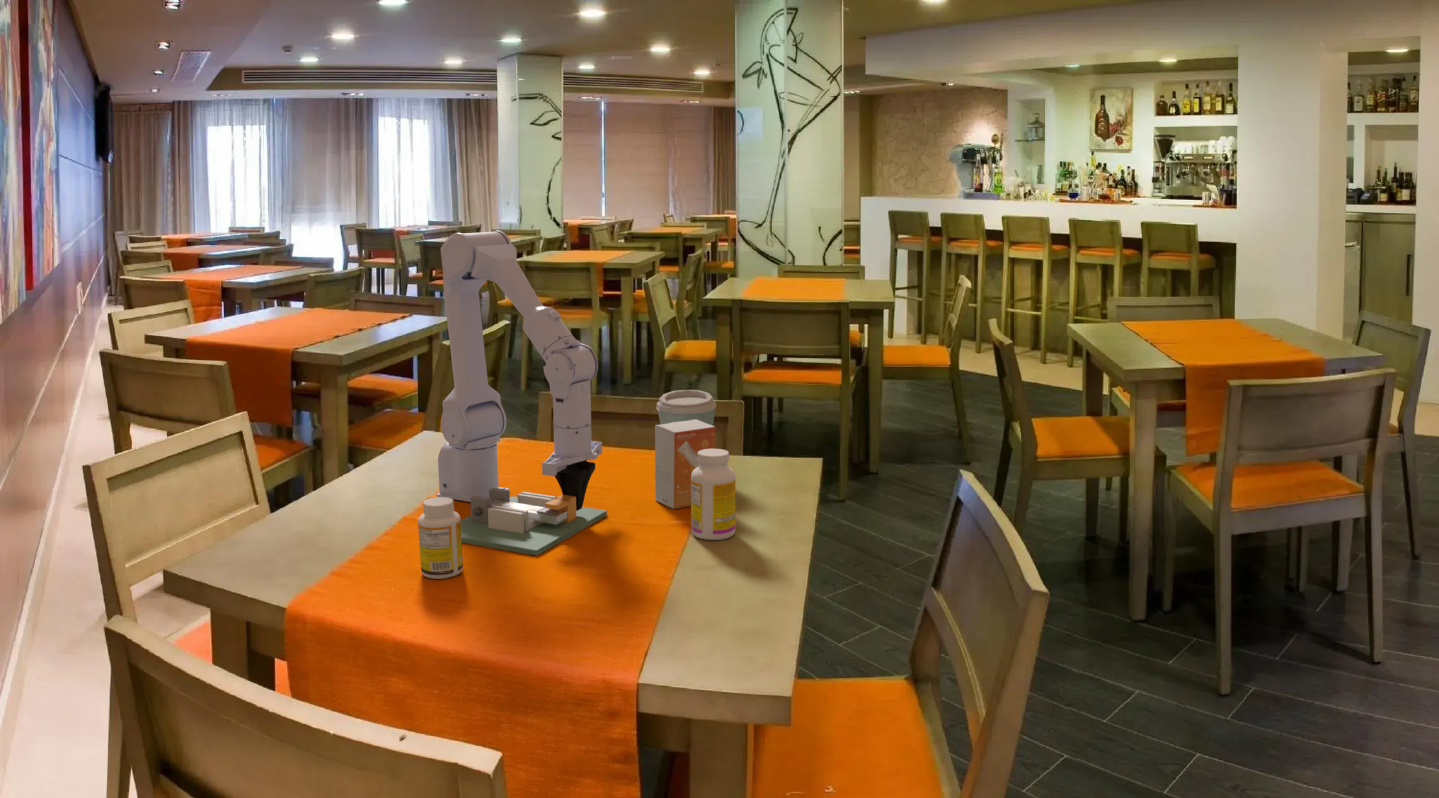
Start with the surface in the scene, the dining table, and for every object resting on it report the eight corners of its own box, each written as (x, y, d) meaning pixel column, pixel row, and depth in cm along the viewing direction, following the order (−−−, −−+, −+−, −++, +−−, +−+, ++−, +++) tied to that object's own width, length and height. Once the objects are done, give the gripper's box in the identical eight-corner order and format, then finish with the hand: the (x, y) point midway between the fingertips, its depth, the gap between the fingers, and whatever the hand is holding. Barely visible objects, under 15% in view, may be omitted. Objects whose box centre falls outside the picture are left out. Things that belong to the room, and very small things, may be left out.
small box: (674, 510, 175) (673, 432, 172) (654, 500, 180) (653, 424, 177) (715, 502, 179) (716, 425, 176) (695, 492, 184) (695, 418, 181)
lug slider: (576, 518, 168) (575, 496, 167) (559, 527, 163) (558, 505, 162) (563, 516, 169) (562, 494, 168) (545, 525, 164) (544, 503, 163)
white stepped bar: (484, 511, 167) (484, 502, 167) (496, 506, 170) (496, 497, 169) (556, 524, 162) (556, 514, 162) (567, 518, 165) (567, 509, 164)
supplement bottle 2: (740, 530, 165) (742, 448, 163) (726, 543, 159) (727, 459, 156) (699, 525, 167) (700, 444, 165) (684, 538, 161) (684, 455, 159)
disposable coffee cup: (715, 485, 188) (716, 401, 185) (654, 485, 188) (653, 401, 185) (716, 468, 198) (717, 389, 195) (658, 468, 199) (657, 388, 195)
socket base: (434, 537, 161) (433, 509, 160) (512, 500, 179) (511, 475, 178) (536, 555, 154) (535, 526, 153) (606, 515, 172) (606, 488, 171)
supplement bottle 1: (446, 562, 151) (443, 492, 149) (471, 572, 148) (468, 500, 145) (412, 573, 147) (408, 501, 145) (437, 583, 143) (433, 510, 141)
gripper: (569, 437, 158) (571, 525, 161) (618, 417, 171) (619, 499, 174) (529, 432, 161) (531, 519, 164) (579, 412, 174) (581, 493, 177)
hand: (574, 508), depth 169 cm, fingers closed
